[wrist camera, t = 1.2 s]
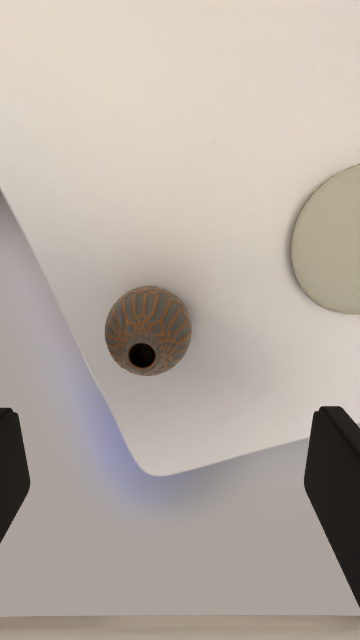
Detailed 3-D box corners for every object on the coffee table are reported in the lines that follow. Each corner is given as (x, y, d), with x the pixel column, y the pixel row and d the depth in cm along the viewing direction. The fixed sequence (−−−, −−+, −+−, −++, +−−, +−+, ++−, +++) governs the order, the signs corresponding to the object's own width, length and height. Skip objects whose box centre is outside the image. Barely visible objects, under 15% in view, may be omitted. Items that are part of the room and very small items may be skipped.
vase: (109, 283, 28) (80, 311, 20) (186, 276, 28) (189, 301, 20) (120, 354, 31) (99, 406, 22) (192, 348, 30) (197, 397, 22)
